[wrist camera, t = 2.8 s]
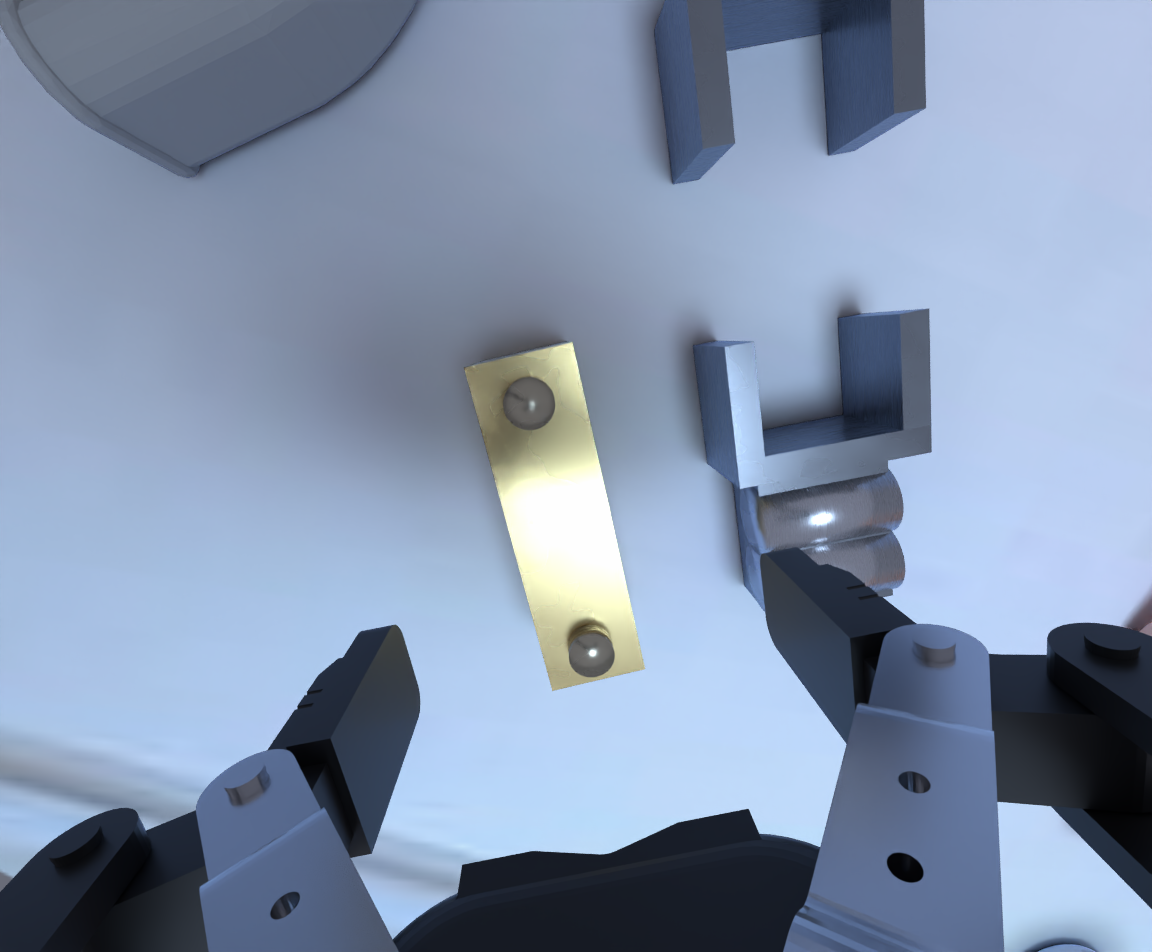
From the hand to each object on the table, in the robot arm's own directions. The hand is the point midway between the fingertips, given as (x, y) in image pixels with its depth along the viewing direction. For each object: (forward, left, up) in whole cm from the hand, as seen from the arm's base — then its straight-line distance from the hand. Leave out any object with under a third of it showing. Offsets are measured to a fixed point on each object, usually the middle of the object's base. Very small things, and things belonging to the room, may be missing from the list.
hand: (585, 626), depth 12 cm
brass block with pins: (0, 0, -12) cm, 12 cm away
